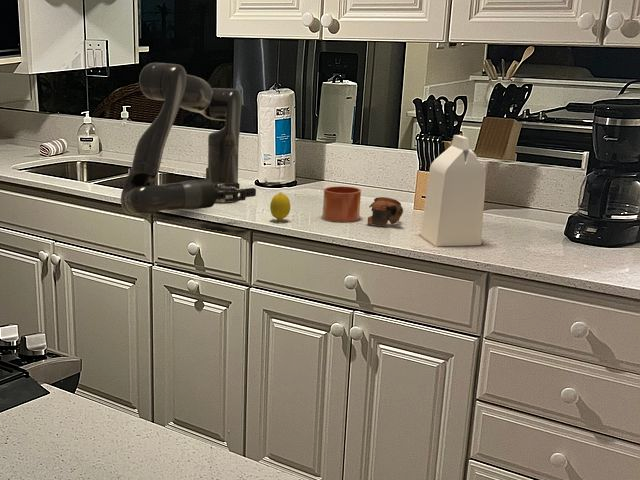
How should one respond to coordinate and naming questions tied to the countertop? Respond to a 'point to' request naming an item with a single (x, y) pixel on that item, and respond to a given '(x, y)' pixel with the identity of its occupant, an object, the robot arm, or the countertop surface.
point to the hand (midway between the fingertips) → (246, 189)
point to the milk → (455, 197)
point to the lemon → (280, 206)
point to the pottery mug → (385, 211)
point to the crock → (341, 204)
